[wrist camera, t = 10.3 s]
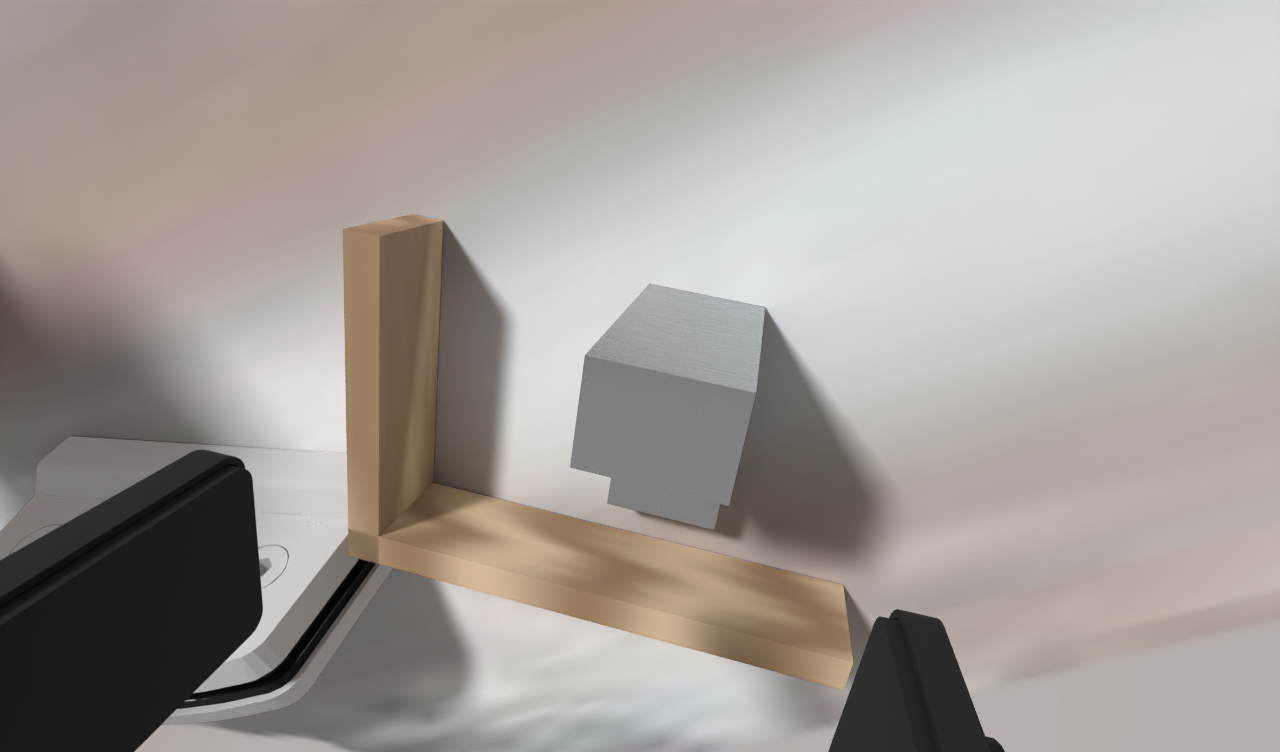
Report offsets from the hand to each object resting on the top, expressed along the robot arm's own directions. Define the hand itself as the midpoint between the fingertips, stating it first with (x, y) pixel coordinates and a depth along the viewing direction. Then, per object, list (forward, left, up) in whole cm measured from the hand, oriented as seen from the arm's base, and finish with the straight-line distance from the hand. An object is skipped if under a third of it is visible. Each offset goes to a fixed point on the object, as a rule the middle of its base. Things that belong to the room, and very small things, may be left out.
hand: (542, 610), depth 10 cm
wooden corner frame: (-1, -4, -15) cm, 15 cm away
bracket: (+1, -3, -15) cm, 15 cm away
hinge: (-19, -13, -15) cm, 27 cm away
